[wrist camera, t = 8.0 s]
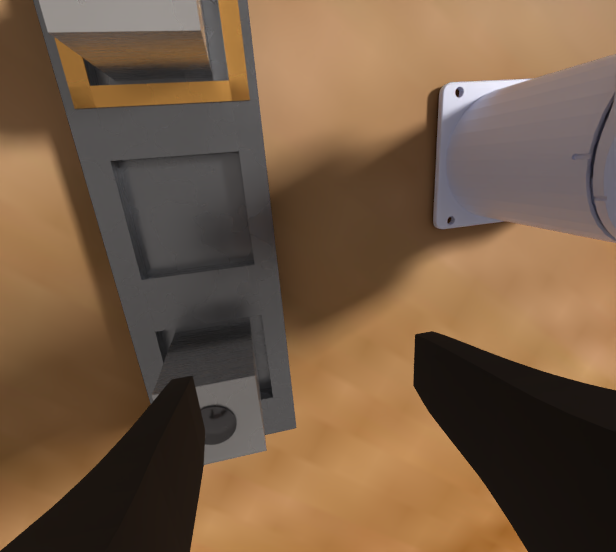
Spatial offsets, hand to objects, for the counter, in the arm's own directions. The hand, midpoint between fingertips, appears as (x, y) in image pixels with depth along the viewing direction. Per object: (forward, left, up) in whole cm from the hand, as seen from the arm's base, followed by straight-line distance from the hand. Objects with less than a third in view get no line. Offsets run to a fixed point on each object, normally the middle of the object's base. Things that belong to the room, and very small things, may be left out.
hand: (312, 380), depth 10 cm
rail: (+4, -5, -10) cm, 12 cm away
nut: (+4, +4, -9) cm, 11 cm away
